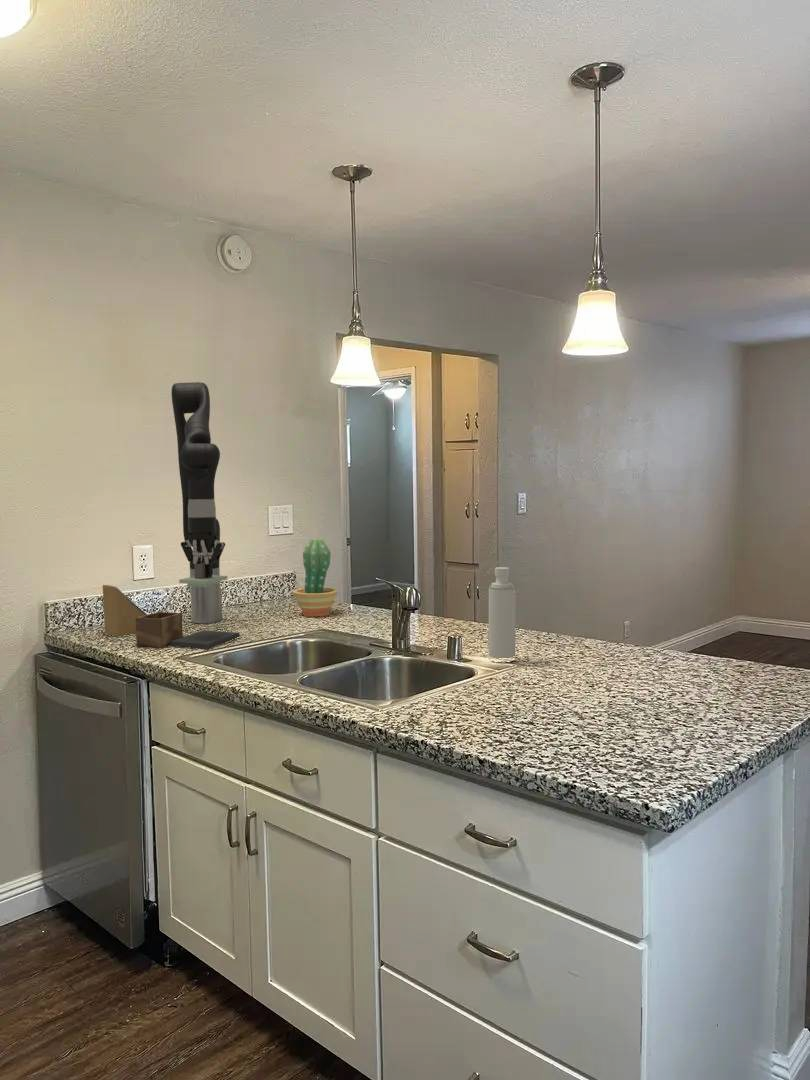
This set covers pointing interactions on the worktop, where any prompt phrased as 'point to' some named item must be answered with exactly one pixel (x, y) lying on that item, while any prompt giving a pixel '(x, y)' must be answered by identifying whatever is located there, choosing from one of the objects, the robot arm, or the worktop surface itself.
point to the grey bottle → (502, 615)
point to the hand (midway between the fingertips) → (203, 577)
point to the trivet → (205, 639)
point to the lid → (202, 578)
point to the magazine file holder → (119, 612)
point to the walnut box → (158, 629)
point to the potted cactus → (315, 581)
